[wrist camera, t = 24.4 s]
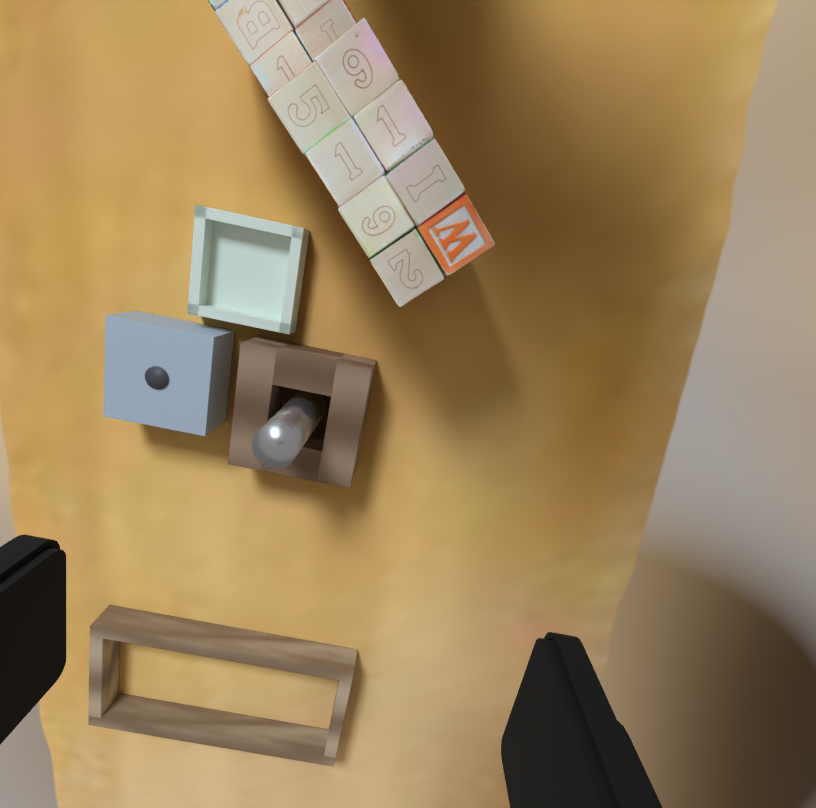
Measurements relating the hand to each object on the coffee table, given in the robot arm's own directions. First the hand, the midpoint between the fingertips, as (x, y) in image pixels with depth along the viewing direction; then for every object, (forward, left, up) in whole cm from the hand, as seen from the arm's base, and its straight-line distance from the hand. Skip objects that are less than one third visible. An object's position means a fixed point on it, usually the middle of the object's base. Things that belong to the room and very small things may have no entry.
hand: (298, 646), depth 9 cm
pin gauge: (+5, -6, -30) cm, 31 cm away
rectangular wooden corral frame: (+36, -10, -30) cm, 48 cm away
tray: (-5, -12, -30) cm, 33 cm away
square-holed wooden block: (+5, -6, -30) cm, 31 cm away
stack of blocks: (-15, -5, -31) cm, 35 cm away
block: (+4, -17, -30) cm, 35 cm away
